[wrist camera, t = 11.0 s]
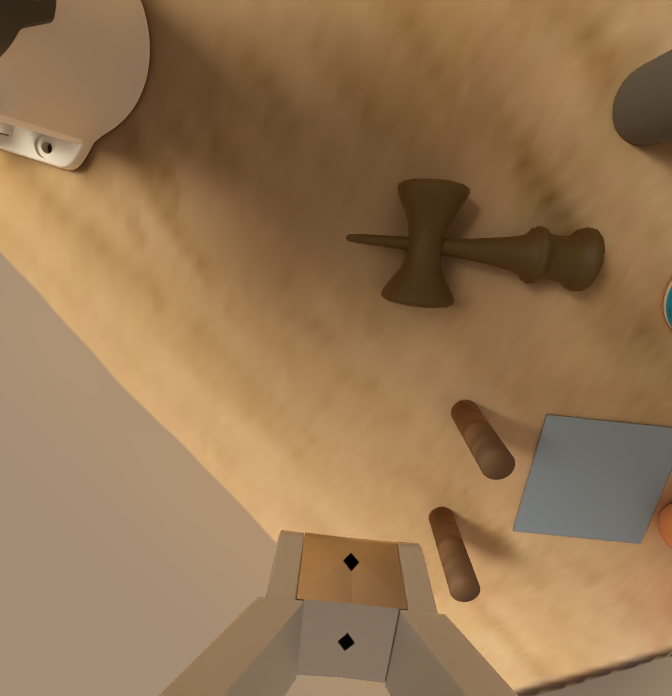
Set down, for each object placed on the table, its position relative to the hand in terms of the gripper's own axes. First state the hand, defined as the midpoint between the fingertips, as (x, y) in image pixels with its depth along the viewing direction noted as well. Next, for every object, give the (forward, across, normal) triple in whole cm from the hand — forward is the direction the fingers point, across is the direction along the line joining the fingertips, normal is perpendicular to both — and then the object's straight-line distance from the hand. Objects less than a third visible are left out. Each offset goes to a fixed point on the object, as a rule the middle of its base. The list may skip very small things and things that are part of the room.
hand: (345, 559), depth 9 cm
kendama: (+30, -10, -6) cm, 32 cm away
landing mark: (+29, -28, +16) cm, 43 cm away
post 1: (+29, -13, +22) cm, 39 cm away
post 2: (+29, -13, +10) cm, 33 cm away
